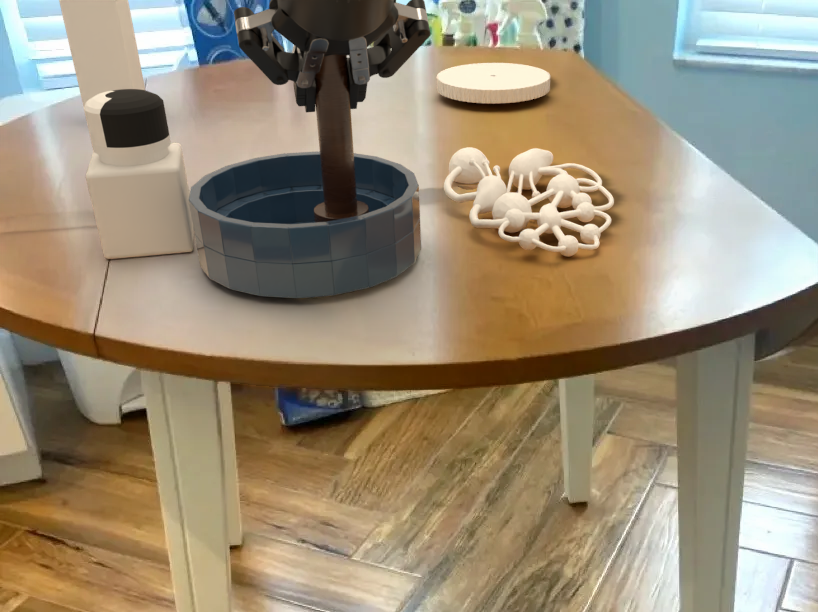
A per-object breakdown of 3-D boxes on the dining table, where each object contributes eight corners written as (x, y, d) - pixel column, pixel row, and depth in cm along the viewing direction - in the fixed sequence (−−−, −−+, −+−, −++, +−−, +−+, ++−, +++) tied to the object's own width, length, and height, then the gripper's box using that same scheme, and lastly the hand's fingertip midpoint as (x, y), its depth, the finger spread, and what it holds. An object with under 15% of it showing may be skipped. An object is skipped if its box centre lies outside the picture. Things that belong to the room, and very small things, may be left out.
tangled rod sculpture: (647, 268, 79) (657, 219, 76) (476, 269, 76) (481, 219, 73) (578, 184, 94) (585, 141, 92) (434, 183, 91) (436, 139, 89)
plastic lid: (415, 103, 117) (415, 81, 116) (471, 78, 127) (471, 58, 126) (518, 118, 112) (518, 95, 110) (567, 90, 121) (569, 69, 120)
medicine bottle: (194, 222, 85) (170, 80, 78) (193, 253, 79) (167, 103, 73) (111, 229, 84) (78, 86, 77) (104, 261, 78) (68, 109, 71)
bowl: (195, 314, 70) (180, 235, 67) (208, 226, 84) (196, 158, 81) (434, 295, 72) (431, 218, 69) (407, 213, 86) (404, 146, 83)
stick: (315, 232, 75) (298, 56, 68) (313, 212, 79) (297, 43, 72) (371, 228, 76) (360, 54, 69) (367, 209, 80) (356, 41, 72)
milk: (140, 125, 111) (97, -94, 98) (86, 127, 110) (36, -93, 98) (149, 111, 116) (110, -100, 103) (98, 112, 115) (52, -99, 103)
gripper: (441, -118, 59) (409, 51, 76) (211, -112, 57) (230, 61, 73) (463, -10, 58) (425, 137, 75) (229, 1, 55) (244, 152, 72)
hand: (328, 99), depth 74 cm, fingers closed on stick, 2 cm apart
